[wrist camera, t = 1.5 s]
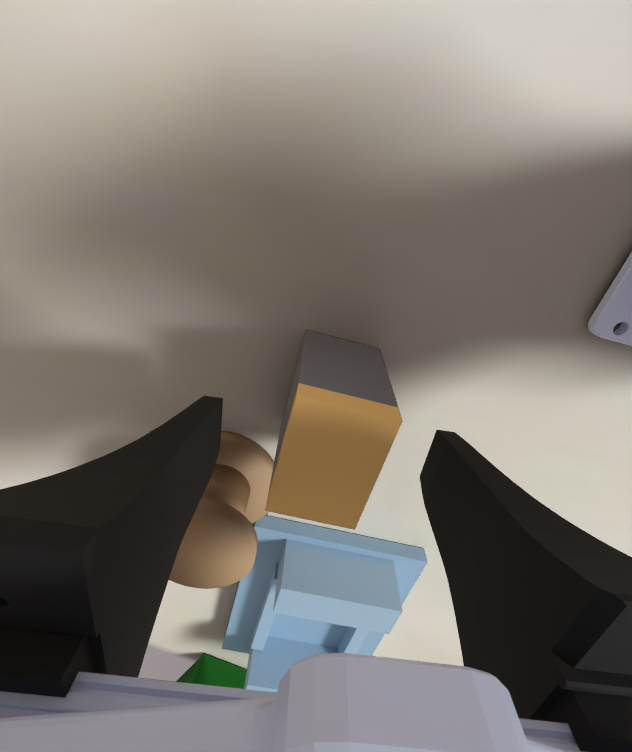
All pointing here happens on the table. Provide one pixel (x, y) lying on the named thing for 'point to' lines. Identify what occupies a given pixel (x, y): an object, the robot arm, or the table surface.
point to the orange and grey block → (333, 432)
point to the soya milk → (214, 673)
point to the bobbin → (226, 517)
